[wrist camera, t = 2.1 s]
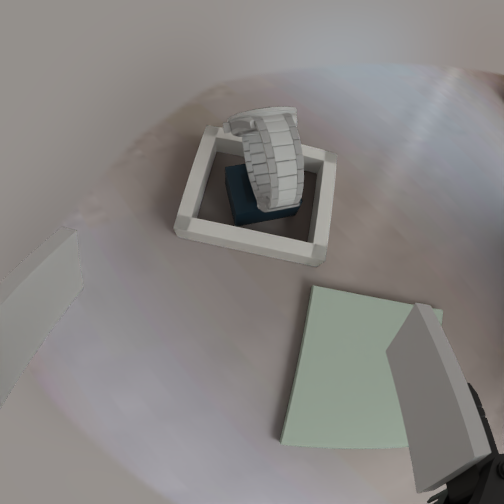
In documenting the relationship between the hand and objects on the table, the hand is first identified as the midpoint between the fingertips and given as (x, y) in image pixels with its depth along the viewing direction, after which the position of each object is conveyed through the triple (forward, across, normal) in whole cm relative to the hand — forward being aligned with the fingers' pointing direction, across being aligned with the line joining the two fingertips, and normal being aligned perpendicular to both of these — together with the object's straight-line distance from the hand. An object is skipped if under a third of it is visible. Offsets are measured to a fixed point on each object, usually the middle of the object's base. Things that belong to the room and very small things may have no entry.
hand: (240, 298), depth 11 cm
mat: (+8, +13, -13) cm, 20 cm away
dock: (+18, 0, -3) cm, 18 cm away
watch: (+18, 0, -3) cm, 19 cm away
